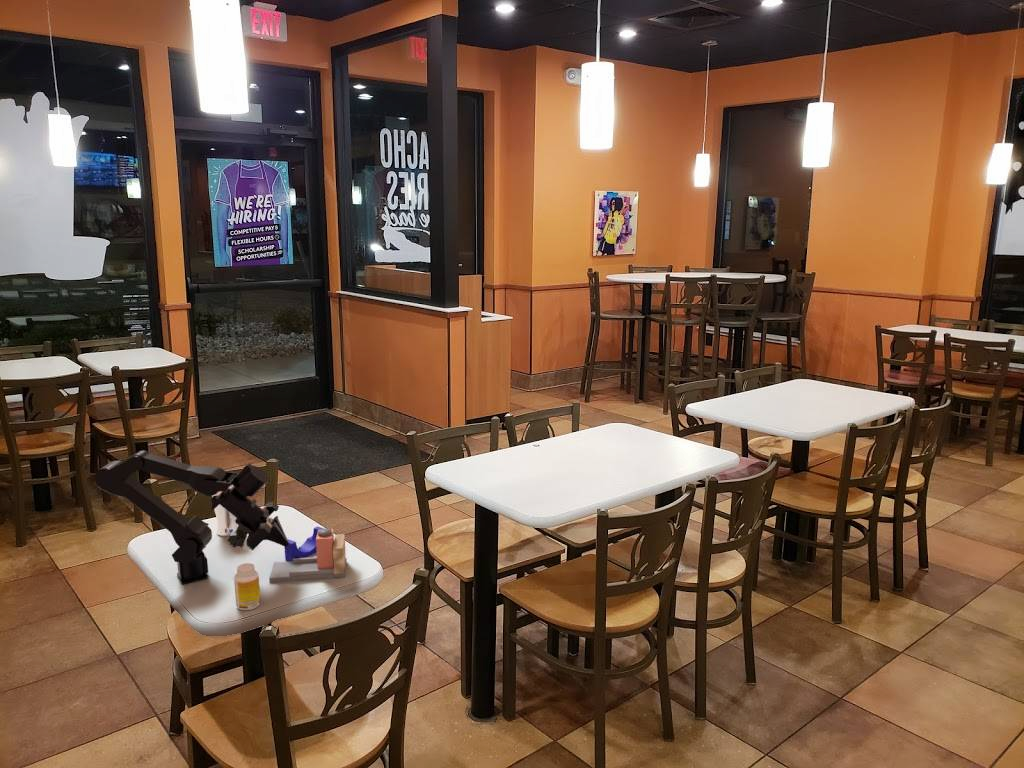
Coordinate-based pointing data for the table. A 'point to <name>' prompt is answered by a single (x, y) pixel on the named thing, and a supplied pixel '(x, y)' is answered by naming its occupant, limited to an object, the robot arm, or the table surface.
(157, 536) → the table surface
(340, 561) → the socket block
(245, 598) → the supplement bottle
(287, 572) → the socket board
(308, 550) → the blue curved piece
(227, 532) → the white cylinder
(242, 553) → the table surface
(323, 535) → the orange upright block
